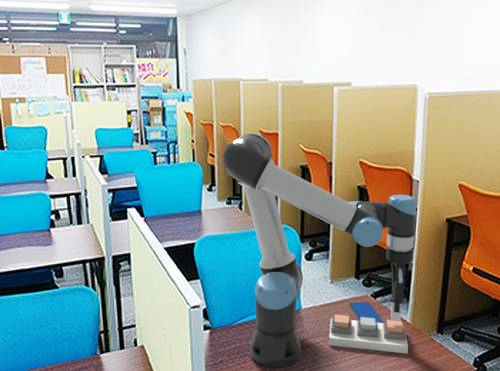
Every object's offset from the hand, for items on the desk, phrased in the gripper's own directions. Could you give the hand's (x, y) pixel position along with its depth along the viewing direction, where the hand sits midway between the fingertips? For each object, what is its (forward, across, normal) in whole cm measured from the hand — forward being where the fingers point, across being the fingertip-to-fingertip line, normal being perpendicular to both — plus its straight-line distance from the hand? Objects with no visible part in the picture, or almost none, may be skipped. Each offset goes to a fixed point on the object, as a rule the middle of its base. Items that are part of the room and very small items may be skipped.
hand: (395, 319), depth 143 cm
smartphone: (+8, +16, +8) cm, 20 cm away
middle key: (+3, 0, +8) cm, 9 cm away
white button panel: (+7, 0, +8) cm, 11 cm away
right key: (+3, 0, 0) cm, 3 cm away
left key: (+3, 0, +16) cm, 17 cm away
